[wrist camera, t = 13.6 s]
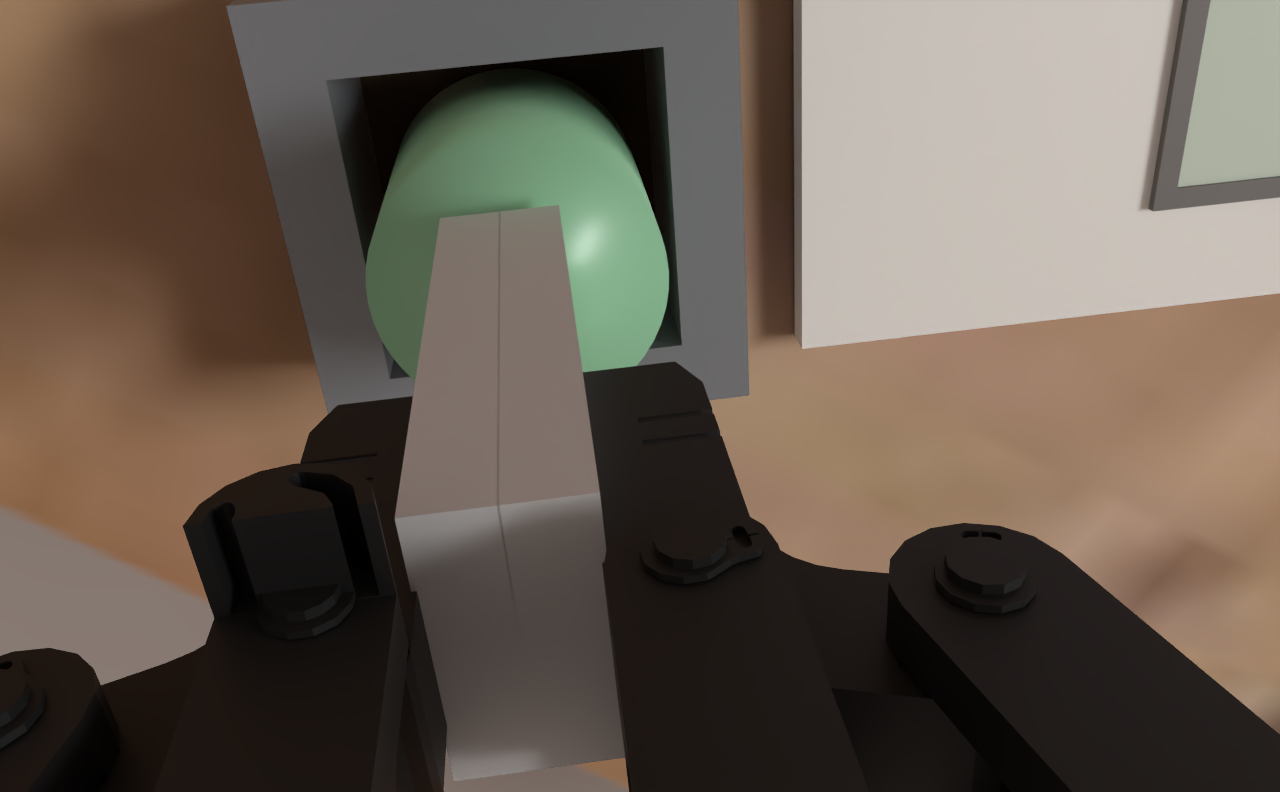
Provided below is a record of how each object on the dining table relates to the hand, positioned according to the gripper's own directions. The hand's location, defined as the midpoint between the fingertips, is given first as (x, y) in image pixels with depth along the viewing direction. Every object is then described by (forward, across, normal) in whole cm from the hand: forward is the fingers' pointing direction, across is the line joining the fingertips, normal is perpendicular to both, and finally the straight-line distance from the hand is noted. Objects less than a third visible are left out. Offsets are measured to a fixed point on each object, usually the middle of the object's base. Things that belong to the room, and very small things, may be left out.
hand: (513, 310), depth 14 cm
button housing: (+6, 0, 0) cm, 6 cm away
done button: (+4, 0, 0) cm, 4 cm away
